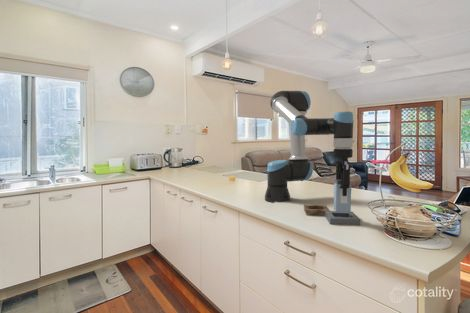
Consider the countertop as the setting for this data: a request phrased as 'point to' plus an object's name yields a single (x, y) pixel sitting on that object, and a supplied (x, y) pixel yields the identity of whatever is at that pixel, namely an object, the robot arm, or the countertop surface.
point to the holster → (315, 210)
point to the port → (342, 218)
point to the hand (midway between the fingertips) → (342, 201)
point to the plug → (337, 205)
